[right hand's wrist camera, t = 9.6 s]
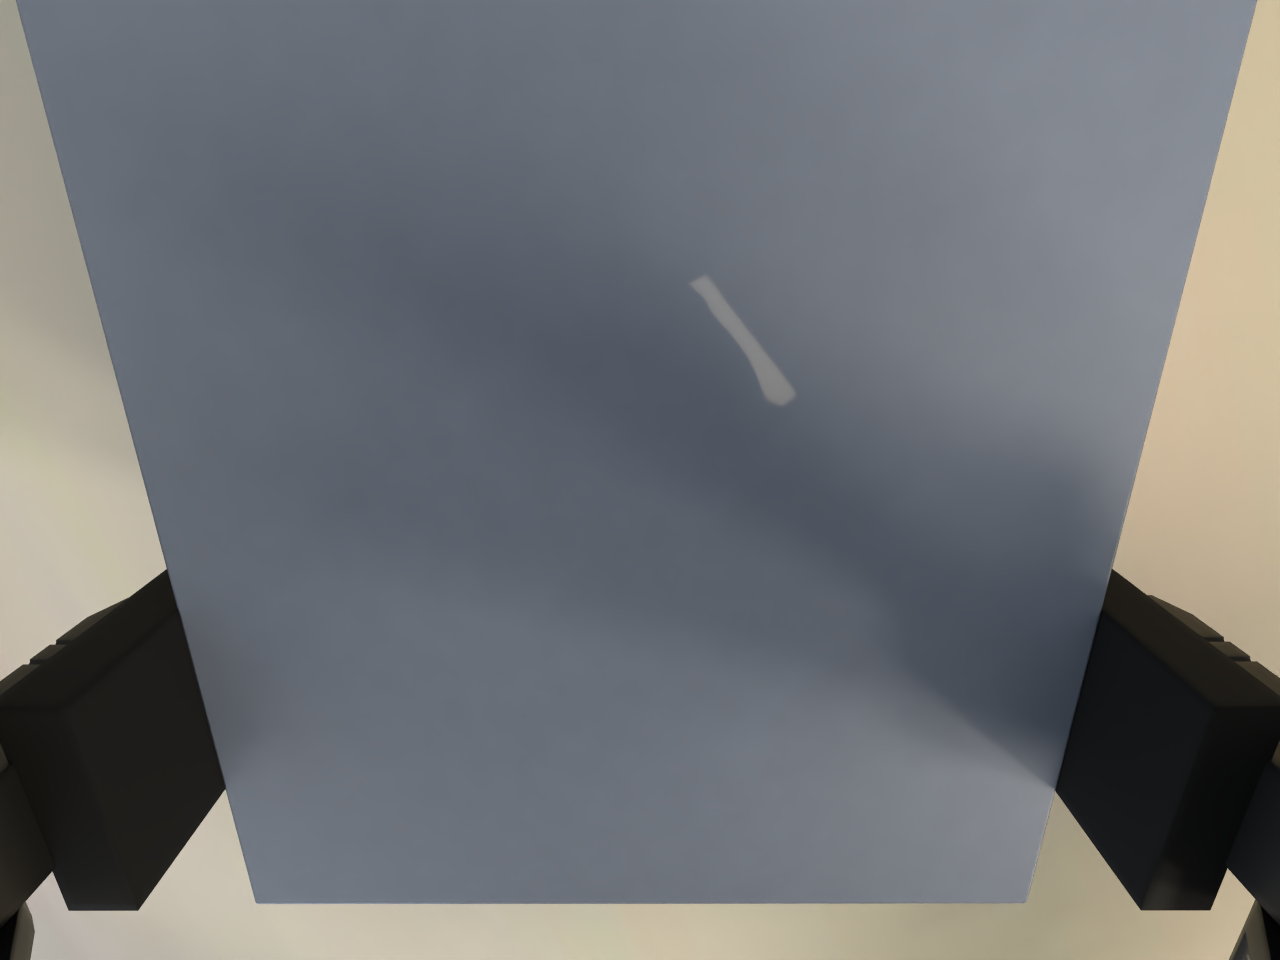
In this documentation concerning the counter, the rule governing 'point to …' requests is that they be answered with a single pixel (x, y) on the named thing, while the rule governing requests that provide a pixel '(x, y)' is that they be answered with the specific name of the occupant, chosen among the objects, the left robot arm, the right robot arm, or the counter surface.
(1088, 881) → the counter surface
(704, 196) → the cabinet
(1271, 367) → the counter surface
